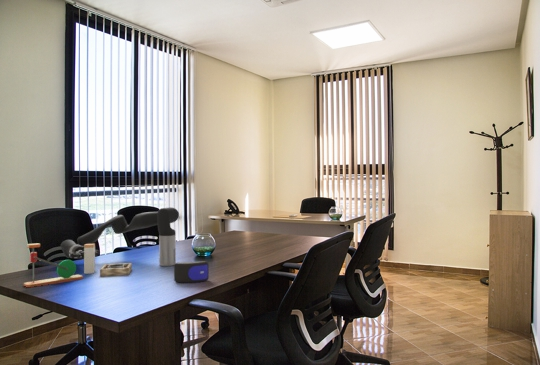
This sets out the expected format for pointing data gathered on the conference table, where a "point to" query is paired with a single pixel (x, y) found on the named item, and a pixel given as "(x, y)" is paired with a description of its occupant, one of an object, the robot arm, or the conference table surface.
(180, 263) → the portable speaker
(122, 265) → the box
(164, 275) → the conference table surface
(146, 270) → the conference table surface
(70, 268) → the crank mechanism
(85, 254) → the white orange-topped block
